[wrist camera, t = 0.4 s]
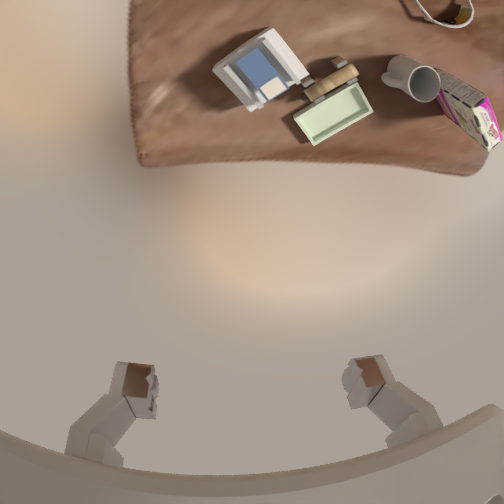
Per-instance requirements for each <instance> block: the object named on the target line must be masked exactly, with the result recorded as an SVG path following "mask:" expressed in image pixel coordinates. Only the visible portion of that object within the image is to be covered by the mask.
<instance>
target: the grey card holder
mask: <svg viewBox="0 0 504 504" xmlns="http://www.w3.org/2000/svg"><path fill="white" fill-rule="evenodd" d="M256 48H258V49H259V50H260V51H261V53H262V54H263V55H264V56H265V57H266V59H267V60H268V61H269V62H270V63H271V65H272V66H273V67H274V68H275V70H276V71H277V72H278V73H279V75H280V76H281V77H282V79H283V80H284V81H285V82H286V84H287V85H288V86H291V85H293V84H294V83H296V84H297V85H298V84H300V83H301V81H300V80H301V79H302V78H304V77H306V76H307V75H309V73H308V72H307V70H306V69H305V68H304V66H303V65H302V64H301V62H300V61H299V60H298V58H297V57H296V56H295V54H294V53H293V52H292V50H291V49H290V48H289V47H288V45H287V44H286V43H285V42H284V40H283V39H282V38H281V37H280V35H279V34H278V33H277V32H276V31H275V29H274V28H272V27H268V28H266V29H265V30H263V31H262V32H260V33H259V34H257V35H256V36H254V37H253V38H251V39H250V40H248V41H247V42H245V43H244V44H242V45H241V46H239V47H238V48H236V49H235V50H234V51H232V52H231V53H230V54H228V55H227V56H225V57H224V58H223V59H221V60H220V61H219V62H217V63H216V64H215V65H214V67H213V69H212V71H213V72H214V73H215V74H216V75H217V76H218V77H219V78H220V79H221V80H222V81H223V82H224V84H225V85H226V86H227V87H228V88H229V89H230V90H231V91H232V92H233V93H234V94H235V95H236V96H237V98H238V99H239V100H240V101H241V102H242V103H243V104H244V105H245V106H246V107H247V109H248V110H249V111H250V112H252V111H253V110H254V109H256V108H257V107H258V108H259V109H261V108H262V107H264V106H263V103H265V102H266V99H265V98H264V97H263V96H262V94H261V93H260V92H259V91H258V89H257V88H256V87H255V86H254V84H253V83H252V82H251V81H250V80H249V78H248V77H247V76H246V75H245V74H244V72H243V71H242V70H241V69H240V68H239V66H238V65H237V64H236V62H237V61H239V60H240V59H241V58H243V57H244V56H246V55H247V54H249V53H250V52H252V51H253V50H255V49H256Z"/></svg>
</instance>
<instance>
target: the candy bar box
mask: <svg viewBox="0 0 504 504" xmlns="http://www.w3.org/2000/svg"><path fill="white" fill-rule="evenodd" d="M435 71H436V72H437V73H438V75H439V77H440V81H441V88H440V92H439V94H438V95H437V97H436V100H437V102H438V103H439V105H440V107H441V109H442V110H443V112H444V114H445V116H447V117H448V118H449V119H451V120H452V121H453V122H455V123H456V124H457V125H458V126H460V127H461V128H462V129H463V130H465V131H466V132H467V133H468V134H469V135H470V136H472V137H473V138H474V139H475V140H476V141H477V142H478V143H480V144H481V145H482V146H483V147H484V148H485V149H486V150H487V151H488V152H489V151H490V150H491V149H492V148H493V147H495V146H496V145H497V144H498V143H499V142H501V141H502V135H501V132H500V129H499V126H498V123H497V120H496V117H495V115H494V112H493V109H492V106H491V104H490V101H489V98H488V96H487V95H485V94H483V93H482V92H480V91H479V90H477V89H475V88H473V87H472V86H470V85H468V84H466V83H465V82H463V81H461V80H459V79H457V78H455V77H453V76H452V75H450V74H448V73H446V72H444V71H442V70H440V69H436V70H435Z"/></svg>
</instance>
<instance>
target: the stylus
mask: <svg viewBox="0 0 504 504" xmlns="http://www.w3.org/2000/svg"><path fill="white" fill-rule="evenodd" d="M358 75H359V73H358V71H357V69H356V68H355V67H354V65H353V64H349V65H347V66H345V67H343V68H342V69H340V70H338V71H336V72H334V73H332V74H331V75H329V76H327V77H325V78H324V79H322V80H320V81H318V82H317V83H315V84H313V85H312V86H310V87H308V88H307V89H305V90H303V91H304V92H305V93H303V94H302V95H301V98H302V100H303V101H309V100H310V101H311V102H312V101H313V100H315V99H317V98H318V97H320V96H322V95H323V94H325V93H327V92H329V91H330V90H332V89H334V88H336V87H337V86H339V85H341V84H343V83H345V82H346V81H348V80H350V79H352V78H354V77H356V76H358Z"/></svg>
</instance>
